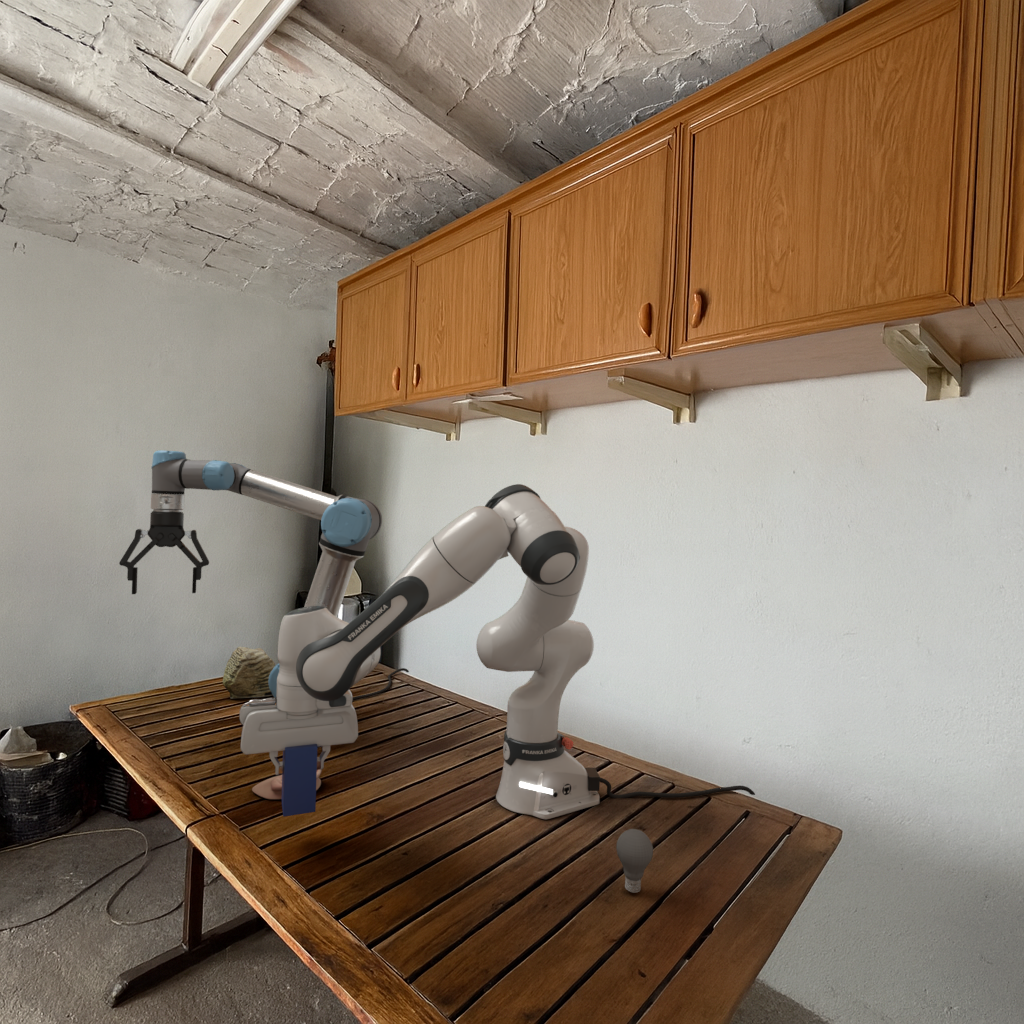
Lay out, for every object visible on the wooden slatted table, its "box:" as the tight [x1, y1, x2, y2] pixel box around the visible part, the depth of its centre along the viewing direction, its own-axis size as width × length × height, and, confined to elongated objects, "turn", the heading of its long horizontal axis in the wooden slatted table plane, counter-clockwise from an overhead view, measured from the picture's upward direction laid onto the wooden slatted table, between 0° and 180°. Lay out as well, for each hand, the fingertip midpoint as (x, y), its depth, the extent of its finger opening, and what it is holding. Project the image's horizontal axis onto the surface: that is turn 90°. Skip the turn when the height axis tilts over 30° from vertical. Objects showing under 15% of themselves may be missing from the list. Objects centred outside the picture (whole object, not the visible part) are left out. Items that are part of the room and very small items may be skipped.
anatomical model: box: [251, 769, 323, 800], centre depth 137 cm, size 13×4×12 cm
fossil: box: [222, 646, 277, 699], centre depth 198 cm, size 9×18×15 cm, turn 132°
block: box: [281, 744, 318, 817], centre depth 115 cm, size 6×6×12 cm
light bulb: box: [615, 828, 654, 894], centre depth 106 cm, size 6×6×10 cm
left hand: (164, 593), depth 163 cm, fingers open, 13 cm apart
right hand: (299, 770), depth 115 cm, fingers closed on block, 5 cm apart
